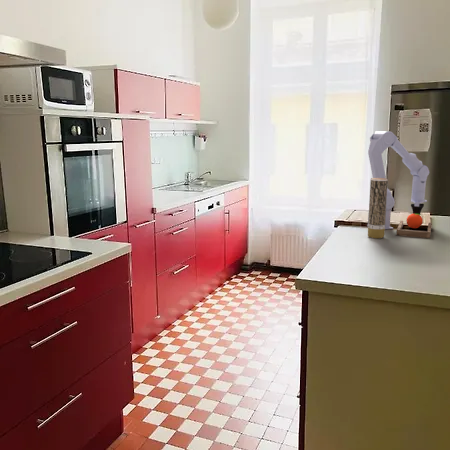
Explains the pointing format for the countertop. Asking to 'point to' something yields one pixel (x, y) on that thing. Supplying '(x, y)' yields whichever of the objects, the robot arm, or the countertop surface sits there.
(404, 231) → the holder
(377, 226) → the paper tube
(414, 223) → the clementine
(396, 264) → the countertop surface
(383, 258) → the countertop surface
